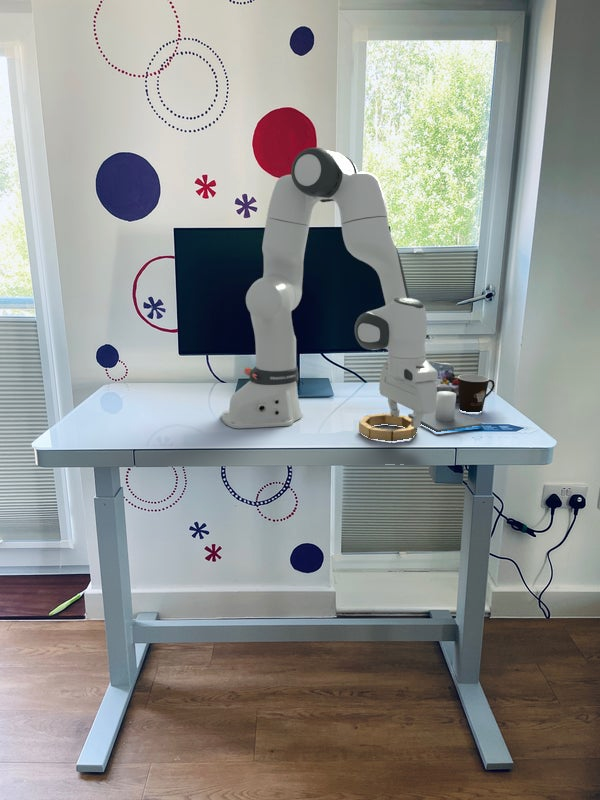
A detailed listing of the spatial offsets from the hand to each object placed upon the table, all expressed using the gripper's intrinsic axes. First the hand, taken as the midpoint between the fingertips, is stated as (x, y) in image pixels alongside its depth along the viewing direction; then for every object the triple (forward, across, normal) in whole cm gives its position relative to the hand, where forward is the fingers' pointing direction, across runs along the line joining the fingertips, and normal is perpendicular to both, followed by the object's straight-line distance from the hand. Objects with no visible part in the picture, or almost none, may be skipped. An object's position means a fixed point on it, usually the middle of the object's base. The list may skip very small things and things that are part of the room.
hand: (404, 421), depth 144 cm
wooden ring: (+5, -7, -1) cm, 8 cm away
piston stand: (+5, -7, +17) cm, 19 cm away
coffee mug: (+6, -13, +32) cm, 35 cm away
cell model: (+6, -28, +30) cm, 42 cm away
